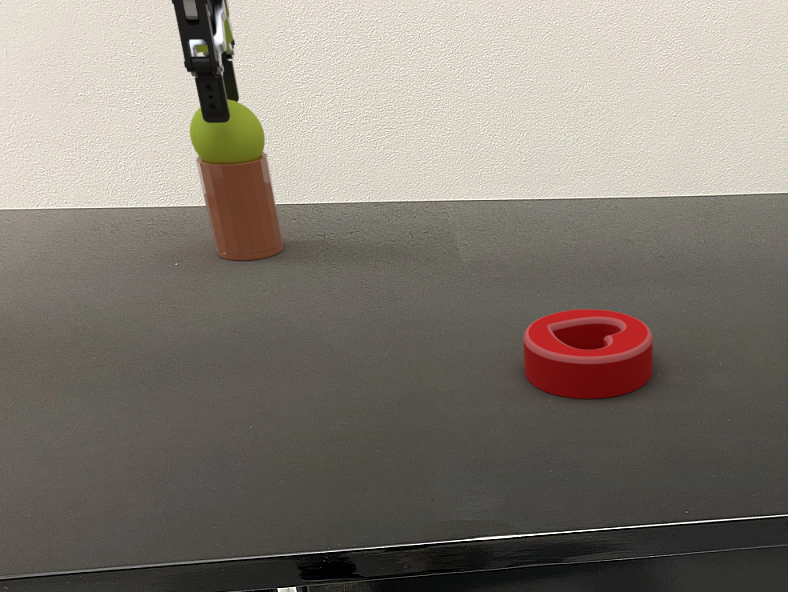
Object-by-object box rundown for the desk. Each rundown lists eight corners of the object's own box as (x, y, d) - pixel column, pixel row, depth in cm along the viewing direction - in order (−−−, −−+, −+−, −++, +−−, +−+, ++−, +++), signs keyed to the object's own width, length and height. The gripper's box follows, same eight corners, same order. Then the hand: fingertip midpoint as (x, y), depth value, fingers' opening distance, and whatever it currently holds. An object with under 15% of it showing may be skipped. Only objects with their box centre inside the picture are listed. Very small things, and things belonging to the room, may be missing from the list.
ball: (194, 182, 88) (177, 108, 84) (203, 164, 93) (187, 94, 90) (268, 178, 89) (254, 105, 86) (272, 160, 94) (259, 91, 91)
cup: (213, 262, 92) (192, 166, 87) (220, 242, 97) (200, 150, 92) (281, 258, 93) (264, 163, 88) (285, 238, 98) (268, 147, 94)
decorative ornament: (527, 345, 77) (525, 308, 75) (647, 344, 77) (648, 307, 76) (522, 399, 69) (520, 359, 67) (656, 397, 69) (657, 357, 68)
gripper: (148, -97, 85) (189, 98, 93) (116, -93, 73) (166, 130, 82) (239, -95, 86) (271, 97, 95) (221, -91, 75) (260, 127, 83)
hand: (222, 112), depth 88 cm, fingers open, 8 cm apart
